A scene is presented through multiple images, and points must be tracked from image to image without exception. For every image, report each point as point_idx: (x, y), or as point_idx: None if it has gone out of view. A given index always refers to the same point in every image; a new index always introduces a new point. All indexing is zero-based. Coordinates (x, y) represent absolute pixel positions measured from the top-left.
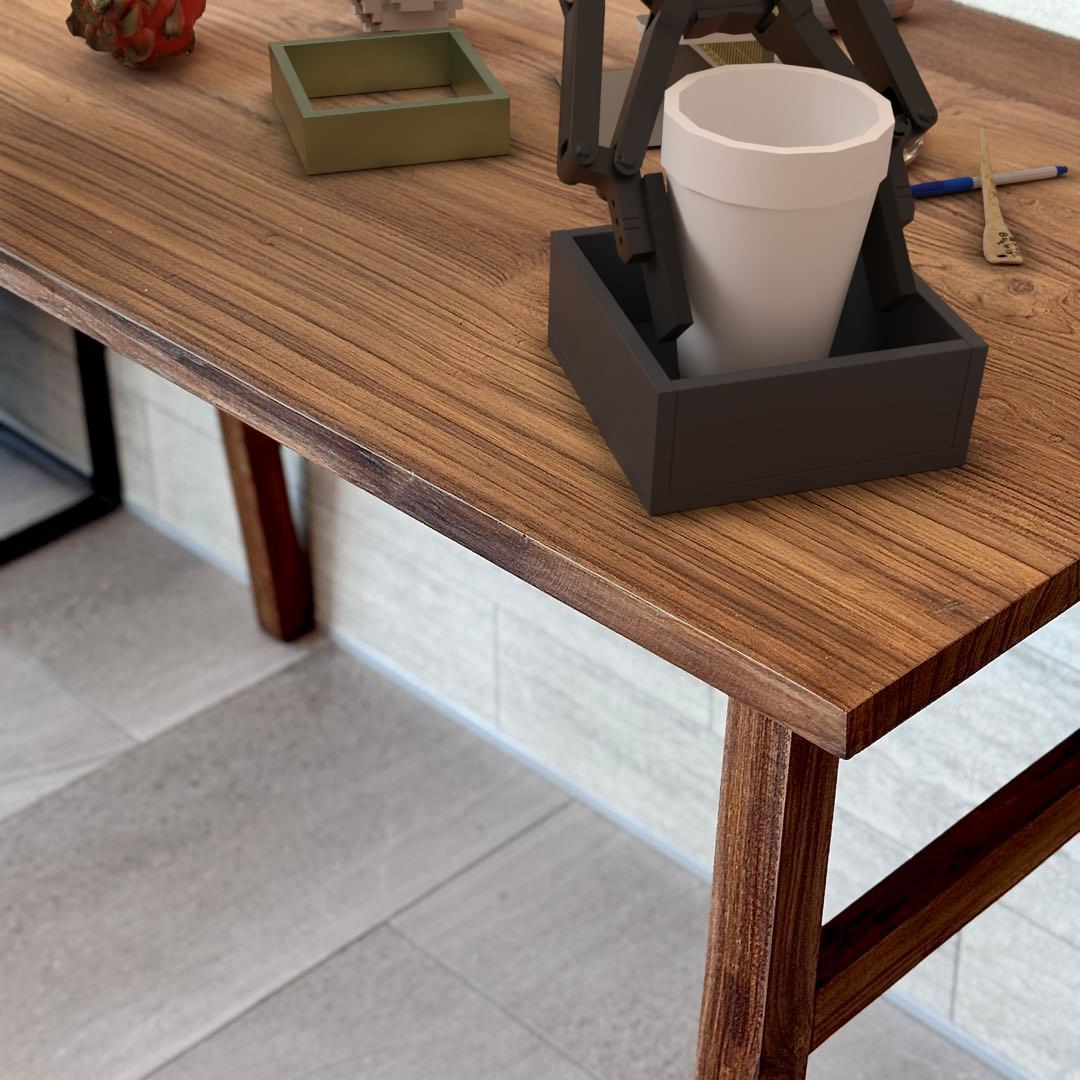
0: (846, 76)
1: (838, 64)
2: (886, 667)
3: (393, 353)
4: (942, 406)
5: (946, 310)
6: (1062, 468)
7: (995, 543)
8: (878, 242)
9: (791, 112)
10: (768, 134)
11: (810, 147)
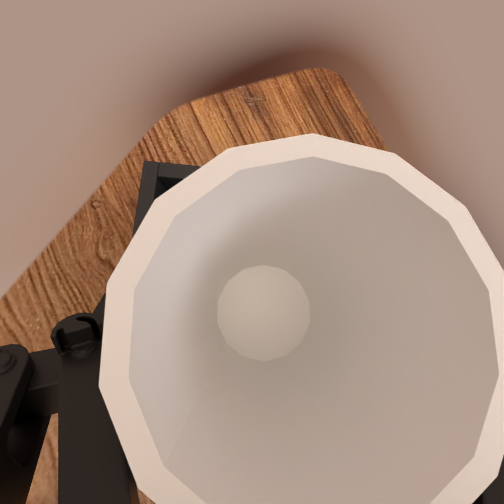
0: (94, 461)
1: (94, 496)
2: (304, 76)
3: None
4: None
5: (142, 218)
6: (114, 176)
7: (198, 132)
8: None
9: (210, 445)
10: (238, 445)
11: (344, 158)
